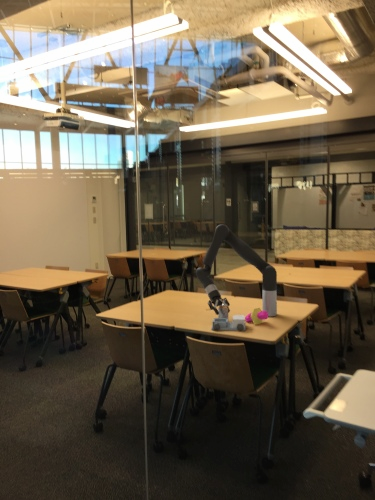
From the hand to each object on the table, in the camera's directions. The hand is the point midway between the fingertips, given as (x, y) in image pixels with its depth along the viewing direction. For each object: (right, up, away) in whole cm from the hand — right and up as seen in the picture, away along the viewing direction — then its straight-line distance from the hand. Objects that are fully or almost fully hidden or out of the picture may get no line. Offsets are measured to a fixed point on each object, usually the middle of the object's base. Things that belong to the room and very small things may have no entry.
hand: (223, 313), depth 261 cm
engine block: (0, -5, +1) cm, 6 cm away
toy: (+21, -6, -3) cm, 22 cm away
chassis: (+2, -7, -13) cm, 14 cm away
